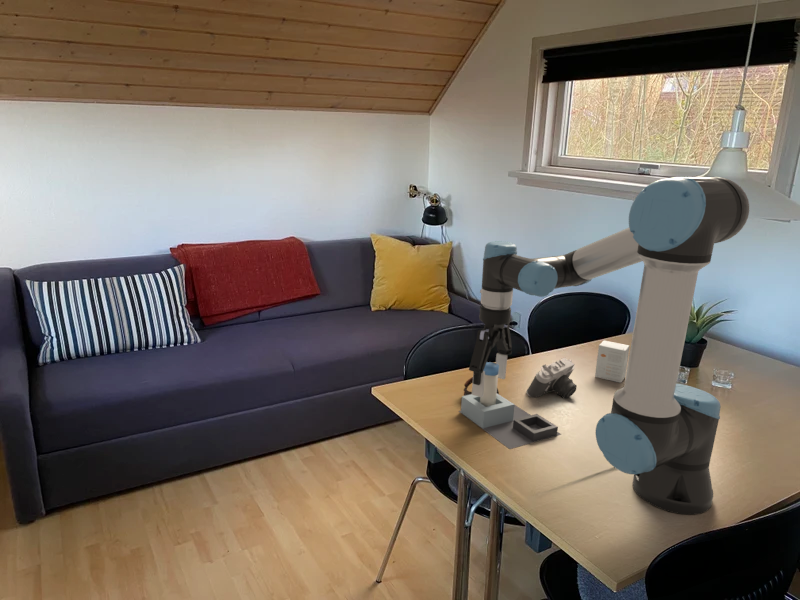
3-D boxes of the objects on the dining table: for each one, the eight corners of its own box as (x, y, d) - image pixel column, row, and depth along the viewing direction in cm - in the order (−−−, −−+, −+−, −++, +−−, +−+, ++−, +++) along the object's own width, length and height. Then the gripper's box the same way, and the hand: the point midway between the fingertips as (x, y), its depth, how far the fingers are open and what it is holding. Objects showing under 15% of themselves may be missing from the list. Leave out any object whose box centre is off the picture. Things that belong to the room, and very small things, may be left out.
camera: (521, 391, 166) (536, 365, 160) (554, 375, 176) (569, 350, 170) (545, 414, 161) (561, 388, 155) (578, 396, 171) (594, 371, 165)
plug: (497, 417, 151) (502, 366, 147) (485, 420, 149) (489, 369, 145) (488, 411, 154) (492, 361, 151) (475, 414, 152) (479, 363, 149)
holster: (556, 435, 143) (557, 426, 143) (533, 441, 140) (534, 433, 139) (536, 421, 150) (537, 413, 149) (512, 427, 146) (513, 419, 146)
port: (513, 420, 150) (514, 404, 149) (482, 428, 145) (484, 411, 144) (490, 405, 158) (491, 389, 157) (460, 412, 153) (461, 396, 152)
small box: (625, 377, 181) (630, 345, 178) (621, 383, 177) (626, 350, 174) (599, 371, 185) (603, 339, 183) (594, 376, 181) (598, 344, 178)
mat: (561, 437, 144) (561, 434, 144) (509, 452, 136) (509, 449, 136) (506, 402, 162) (506, 399, 161) (458, 413, 154) (458, 411, 154)
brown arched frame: (504, 410, 158) (493, 388, 154) (471, 421, 160) (459, 400, 157) (500, 382, 168) (489, 361, 165) (469, 392, 171) (458, 372, 167)
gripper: (502, 292, 155) (495, 367, 161) (458, 314, 135) (452, 399, 141) (529, 297, 151) (521, 374, 157) (488, 321, 131) (481, 408, 137)
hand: (489, 386), depth 149 cm, fingers open, 13 cm apart
